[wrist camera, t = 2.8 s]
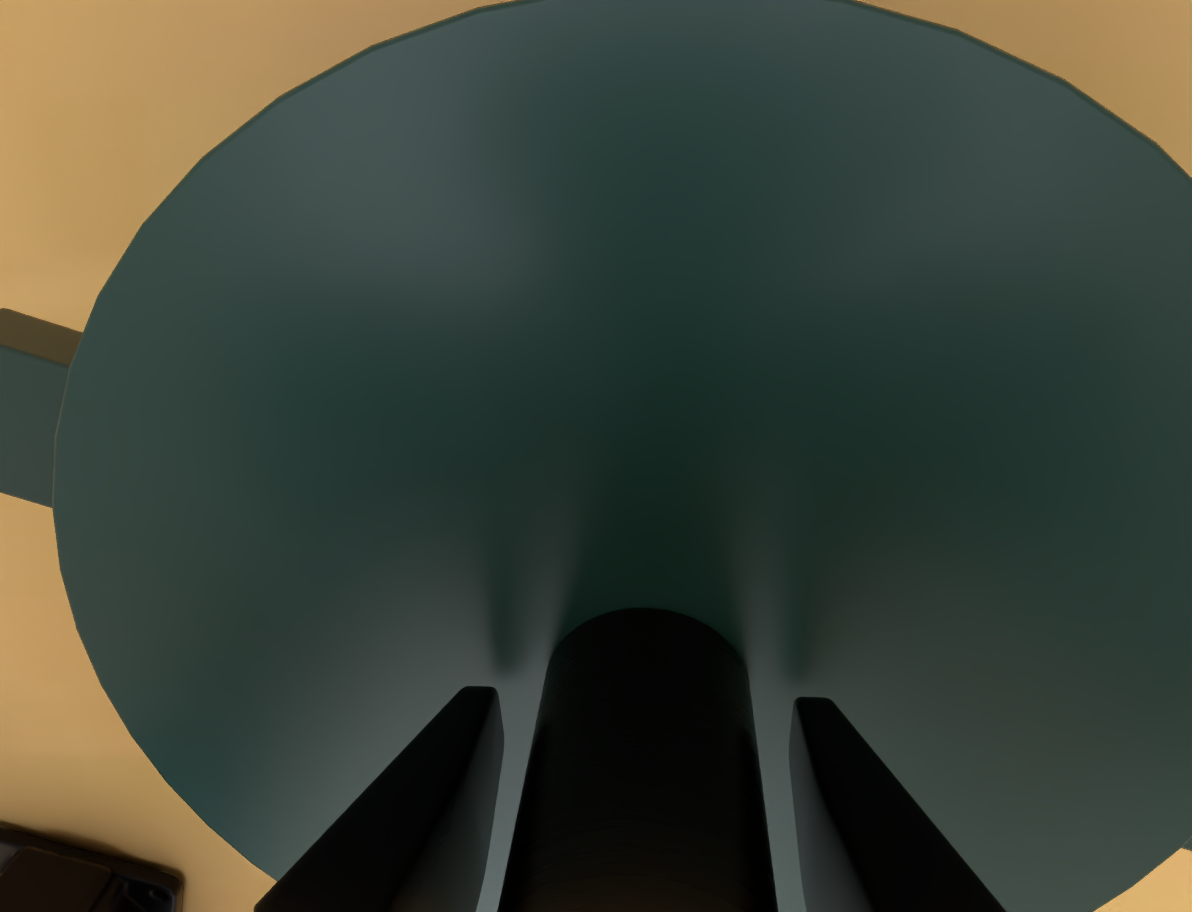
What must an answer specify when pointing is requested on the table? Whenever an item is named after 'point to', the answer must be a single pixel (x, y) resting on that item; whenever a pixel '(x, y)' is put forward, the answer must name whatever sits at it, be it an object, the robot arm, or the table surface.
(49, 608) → the table surface
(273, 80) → the table surface
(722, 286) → the pot lid
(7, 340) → the pot
